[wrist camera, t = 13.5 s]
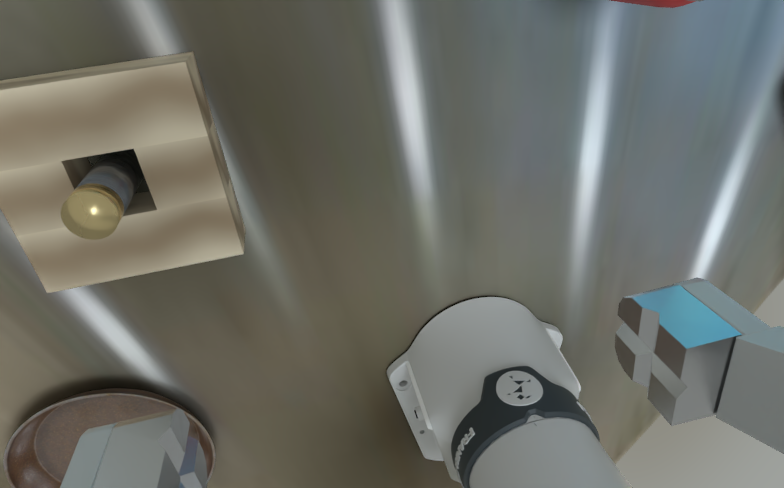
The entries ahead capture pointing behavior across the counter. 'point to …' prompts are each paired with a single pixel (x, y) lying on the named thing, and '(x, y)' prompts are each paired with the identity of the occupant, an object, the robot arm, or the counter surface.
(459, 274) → the counter surface
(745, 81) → the counter surface
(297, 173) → the counter surface
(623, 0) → the beer can
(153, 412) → the plant saucer
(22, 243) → the block
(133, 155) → the grey and gold cylinder
